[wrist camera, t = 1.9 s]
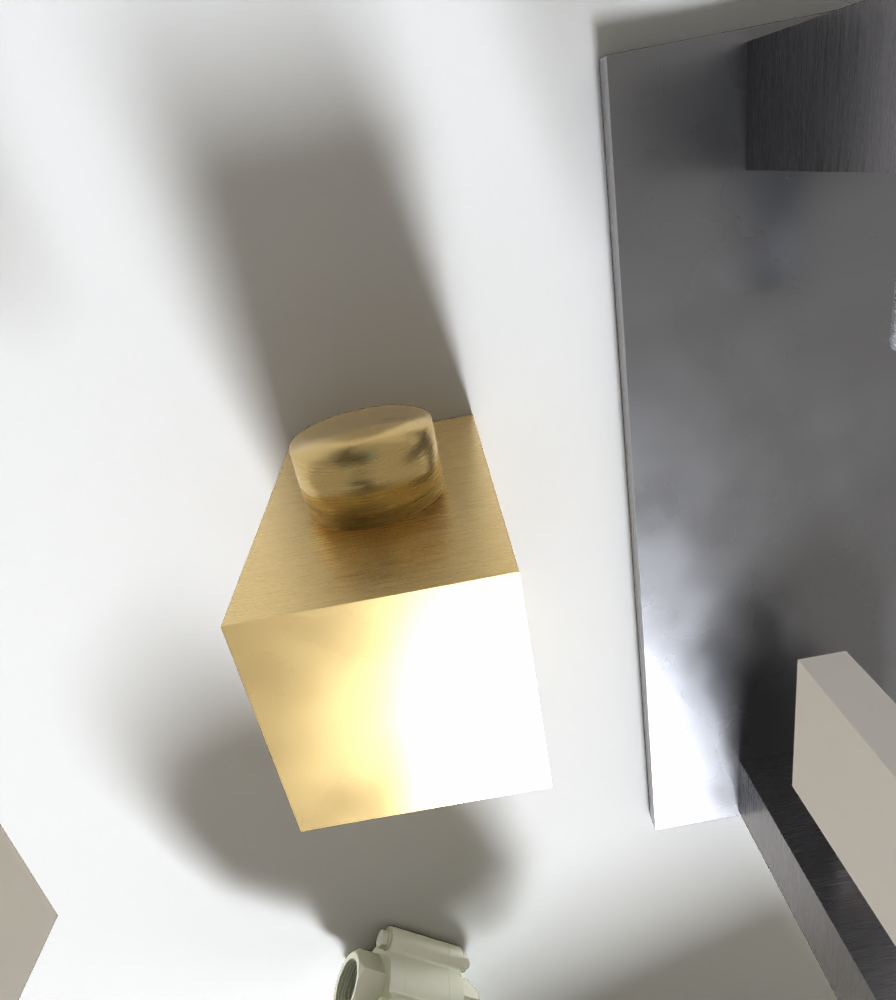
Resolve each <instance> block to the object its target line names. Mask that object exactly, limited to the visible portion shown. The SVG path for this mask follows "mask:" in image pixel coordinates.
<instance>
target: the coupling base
mask: <svg viewBox="0 0 896 1000" xmlns="http://www.w3.org/2000/svg"><path fill="white" fill-rule="evenodd" d="M599 65H600V80H601V95H602V109H603V124H604V139H605V154H606V168H607V183H608V198H609V213H610V228H611V242H612V257H613V272H614V287H615V301H616V316H617V331H618V346H619V361H620V375H621V390H622V405H623V420H624V434H625V449H626V464H627V479H628V494H629V508H630V523H631V538H632V553H633V567H634V582H635V597H636V612H637V627H638V641H639V656H640V671H641V686H642V701H643V715H644V730H645V745H646V760H647V774H648V789H649V804H650V816H651V819H652V822H653V824H654V827H655V829H656V830H658V829H663V828H669V827H675V826H680V825H686V824H692V823H697V822H703V821H709V820H714V819H720V818H726V817H731V816H737V815H741V816H742V818H743V820H744V822H745V824H746V826H747V828H748V830H749V831H750V833H751V835H752V837H753V839H754V841H755V843H756V845H757V847H758V849H759V850H760V852H761V854H762V856H763V858H764V860H765V862H766V864H767V866H768V868H769V869H770V871H771V873H772V875H773V877H774V879H775V881H776V883H777V885H778V887H779V888H780V890H781V892H782V894H783V896H784V898H785V900H786V902H787V904H788V906H789V907H790V909H791V911H792V913H793V915H794V917H795V919H796V921H797V923H798V925H799V926H800V928H801V930H802V932H803V934H804V936H805V938H806V940H807V942H808V944H809V945H810V947H811V949H812V951H813V953H814V955H815V957H816V959H817V961H818V963H819V964H820V966H821V968H822V970H823V972H824V974H825V976H826V978H827V980H828V982H829V983H830V985H831V987H832V989H833V991H834V993H835V995H836V997H837V999H838V1000H896V946H895V945H894V943H893V941H892V940H891V938H890V937H889V935H888V934H887V932H886V931H885V929H884V927H883V926H882V924H881V923H880V921H879V920H878V918H877V917H876V915H875V914H874V912H873V910H872V909H871V907H870V906H869V904H868V903H867V901H866V900H865V898H864V896H863V895H862V893H861V892H860V890H859V889H858V887H857V886H856V884H855V883H854V881H853V879H852V878H851V876H850V875H849V873H848V872H847V870H846V869H845V867H844V865H843V864H842V862H841V861H840V859H839V858H838V856H837V855H836V853H835V852H834V850H833V848H832V847H831V845H830V844H829V842H828V841H827V839H826V838H825V836H824V834H823V833H822V831H821V830H820V828H819V827H818V825H817V824H816V822H815V821H814V819H813V817H812V816H811V814H810V813H809V811H808V810H807V808H806V807H805V805H804V803H803V802H802V800H801V799H800V797H799V796H798V794H797V793H796V791H795V790H794V788H793V786H792V777H793V755H794V732H795V709H796V687H797V664H798V659H804V658H809V657H815V656H820V655H826V654H831V653H837V652H842V651H847V652H848V654H849V655H850V656H851V657H852V658H853V659H854V660H855V661H856V662H857V663H858V664H859V665H860V666H861V667H862V668H863V669H864V670H865V672H866V673H867V674H868V675H869V676H870V677H871V678H872V679H873V680H874V681H875V682H876V683H877V684H878V685H879V686H880V687H881V688H882V690H883V691H884V692H885V693H886V694H887V695H888V696H889V697H890V698H891V699H892V700H893V701H894V702H895V703H896V0H864V1H861V2H859V3H856V4H853V5H850V6H847V7H844V8H842V9H839V10H835V11H830V12H825V13H820V14H814V15H809V16H804V17H799V18H794V19H789V20H784V21H779V22H774V23H769V24H764V25H758V26H753V27H748V28H743V29H738V30H733V31H728V32H723V33H718V34H713V35H708V36H702V37H697V38H692V39H687V40H682V41H677V42H672V43H667V44H662V45H657V46H652V47H647V48H641V49H636V50H631V51H626V52H621V53H616V54H611V55H606V56H604V57H602V58H600V59H599Z"/></svg>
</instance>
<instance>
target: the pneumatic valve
mask: <svg viewBox="0 0 896 1000" xmlns="http://www.w3.org/2000/svg"><path fill="white" fill-rule="evenodd" d="M376 945H377V946H376V947H375V948H374V949H373V950H372V952H371V951H367V950H364V949H360V948H358V949H356V950H355V951H353V952H352V953H350V954H349V955H348V957H347V958H346V960H345V961H344V963H343V965H342V967H341V970H340V973H339V976H338V979H337V982H336V987H335V992H334V999H333V1000H480V998H479V994H478V991H477V990H476V988H475V987H474V985H473V984H472V983H471V982H470V981H469V980H468V979H465V978H462V976H461V972H462V973H463V972H464V971H465V970H466V969H467V968H468V967H469V960H468V957H467V955H466V954H464V953H463V951H462V948H461V947H459V946H456V945H453V944H449V943H446V942H443V941H439V940H436V939H433V938H429V937H426V936H423V935H419V934H416V933H413V932H409V931H406V930H403V929H399V928H396V927H393V926H389V927H388V928H387V929H386V930H384V929H382V930H381V931H380V932H379V933H378V936H377V940H376Z"/></svg>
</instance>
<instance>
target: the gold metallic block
mask: <svg viewBox="0 0 896 1000" xmlns="http://www.w3.org/2000/svg"><path fill="white" fill-rule="evenodd" d="M221 629H222V631H223V634H224V636H225V639H226V641H227V644H228V647H229V649H230V652H231V654H232V657H233V659H234V662H235V664H236V667H237V670H238V672H239V675H240V677H241V680H242V682H243V685H244V688H245V690H246V693H247V695H248V698H249V700H250V703H251V705H252V708H253V711H254V713H255V716H256V718H257V721H258V723H259V726H260V729H261V731H262V734H263V736H264V739H265V741H266V744H267V746H268V749H269V752H270V754H271V757H272V759H273V762H274V764H275V767H276V770H277V772H278V775H279V777H280V780H281V782H282V785H283V787H284V790H285V793H286V795H287V798H288V800H289V803H290V805H291V808H292V811H293V813H294V816H295V818H296V821H297V823H298V826H299V828H300V831H301V832H303V831H309V830H314V829H320V828H325V827H331V826H337V825H342V824H348V823H353V822H359V821H365V820H370V819H376V818H381V817H387V816H392V815H398V814H404V813H409V812H415V811H420V810H426V809H432V808H437V807H443V806H448V805H454V804H460V803H465V802H471V801H476V800H482V799H488V798H493V797H499V796H504V795H510V794H516V793H521V792H527V791H532V790H538V789H544V788H549V787H552V783H551V777H550V770H549V763H548V757H547V750H546V744H545V737H544V731H543V724H542V718H541V711H540V705H539V698H538V691H537V685H536V678H535V672H534V665H533V659H532V652H531V646H530V639H529V632H528V626H527V619H526V613H525V606H524V600H523V593H522V587H521V580H520V574H519V569H518V566H517V563H516V559H515V556H514V553H513V549H512V546H511V542H510V539H509V536H508V532H507V529H506V526H505V522H504V519H503V516H502V512H501V509H500V506H499V502H498V499H497V495H496V492H495V489H494V485H493V482H492V479H491V475H490V472H489V469H488V465H487V462H486V458H485V455H484V452H483V448H482V445H481V442H480V438H479V435H478V432H477V428H476V425H475V422H474V418H473V415H467V416H462V417H457V418H451V419H446V420H441V421H435V422H433V421H432V417H431V415H430V413H429V412H427V411H426V410H424V409H422V408H419V407H414V406H407V405H386V406H376V407H369V408H363V409H359V410H354V411H350V412H346V413H343V414H339V415H336V416H333V417H330V418H328V419H325V420H323V421H320V422H318V423H316V424H314V425H312V426H310V427H308V428H306V429H305V430H303V431H302V432H300V433H299V434H298V435H297V436H295V437H294V438H293V440H292V441H291V442H290V444H289V449H288V452H287V455H286V457H285V460H284V463H283V465H282V468H281V470H280V473H279V476H278V478H277V481H276V484H275V486H274V489H273V491H272V494H271V497H270V499H269V502H268V505H267V507H266V510H265V512H264V515H263V518H262V520H261V523H260V526H259V528H258V531H257V533H256V536H255V539H254V541H253V544H252V546H251V549H250V552H249V554H248V557H247V560H246V562H245V565H244V567H243V570H242V573H241V575H240V578H239V581H238V583H237V586H236V588H235V591H234V594H233V596H232V599H231V602H230V604H229V607H228V609H227V612H226V615H225V617H224V620H223V623H222V625H221Z"/></svg>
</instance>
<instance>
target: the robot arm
mask: <svg viewBox="0 0 896 1000" xmlns="http://www.w3.org/2000/svg"><path fill="white" fill-rule="evenodd" d="M792 786H793V788H794V790H795V791H796V793H797V794H798V796H799V797H800V799H801V800H802V802H803V803H804V805H805V807H806V808H807V810H808V811H809V813H810V814H811V816H812V817H813V819H814V821H815V822H816V824H817V825H818V827H819V828H820V830H821V831H822V833H823V834H824V836H825V838H826V839H827V841H828V842H829V844H830V845H831V847H832V848H833V850H834V852H835V853H836V855H837V856H838V858H839V859H840V861H841V862H842V864H843V865H844V867H845V869H846V870H847V872H848V873H849V875H850V876H851V878H852V879H853V881H854V883H855V884H856V886H857V887H858V889H859V890H860V892H861V893H862V895H863V896H864V898H865V900H866V901H867V903H868V904H869V906H870V907H871V909H872V910H873V912H874V914H875V915H876V917H877V918H878V920H879V921H880V923H881V924H882V926H883V927H884V929H885V931H886V932H887V934H888V935H889V937H890V938H891V940H892V941H893V943H894V945H895V946H896V703H895V702H894V701H893V700H892V699H891V698H890V697H889V696H888V695H887V694H886V693H885V692H884V691H883V690H882V688H881V687H880V686H879V685H878V684H877V683H876V682H875V681H874V680H873V679H872V678H871V677H870V676H869V675H868V674H867V673H866V672H865V670H864V669H863V668H862V667H861V666H860V665H859V664H858V663H857V662H856V661H855V660H854V659H853V658H852V657H851V656H850V655H849V654H848V652H847V651H842V652H837V653H831V654H826V655H820V656H815V657H809V658H804V659H798V664H797V687H796V709H795V732H794V755H793V777H792ZM57 916H58V915H57V913H56V912H55V910H54V908H53V907H52V905H51V904H50V902H49V901H48V899H47V897H46V896H45V894H44V893H43V891H42V889H41V888H40V886H39V885H38V883H37V882H36V880H35V878H34V877H33V875H32V874H31V872H30V870H29V869H28V867H27V866H26V864H25V862H24V861H23V859H22V858H21V856H20V855H19V853H18V851H17V850H16V848H15V847H14V845H13V843H12V842H11V840H10V839H9V837H8V836H7V834H6V832H5V831H4V829H3V828H2V826H1V824H0V1000H19V998H20V996H21V993H22V991H23V989H24V987H25V985H26V983H27V981H28V978H29V976H30V974H31V972H32V970H33V968H34V966H35V963H36V961H37V959H38V957H39V955H40V953H41V951H42V949H43V946H44V944H45V942H46V940H47V938H48V936H49V934H50V931H51V929H52V927H53V925H54V923H55V921H56V919H57Z"/></svg>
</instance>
